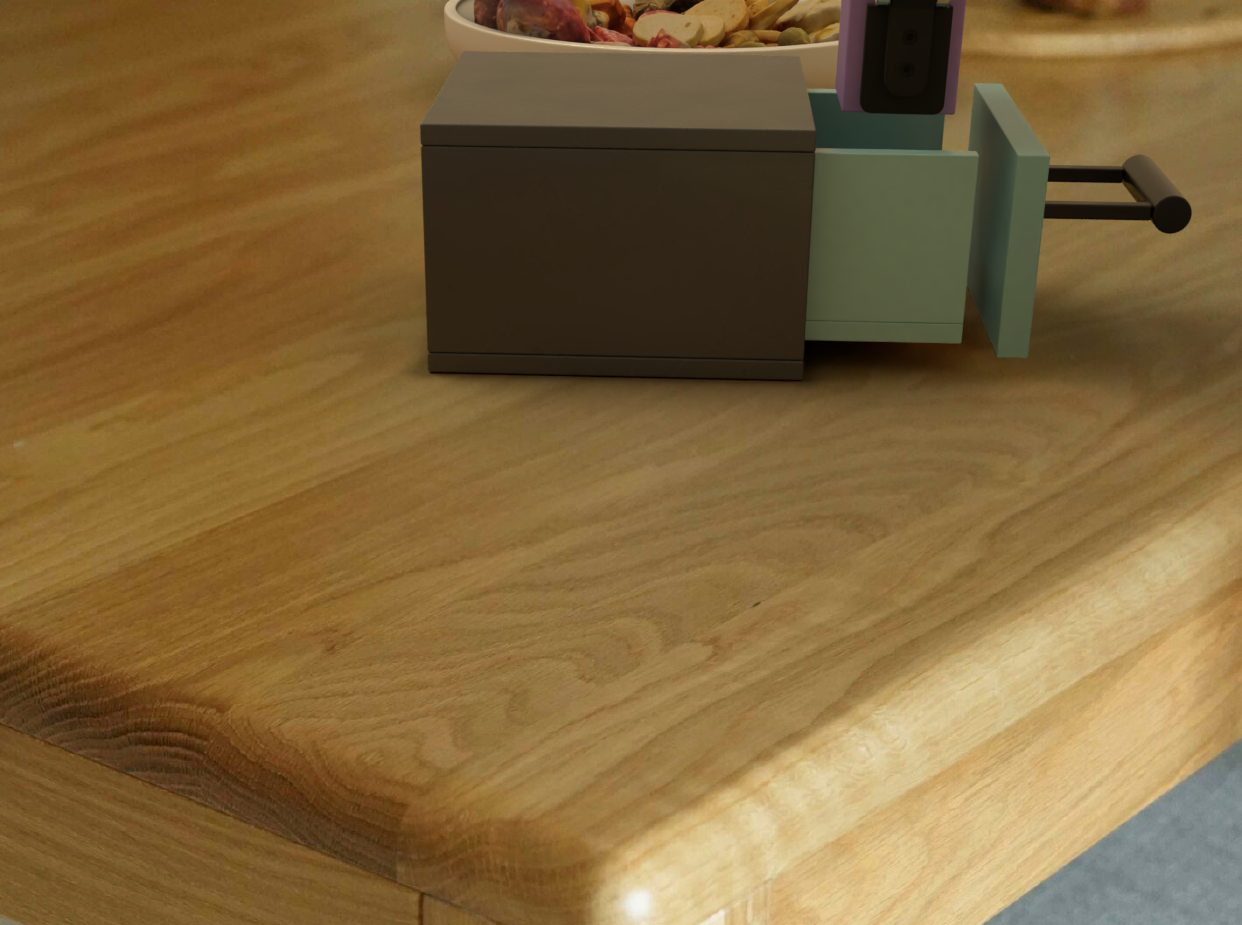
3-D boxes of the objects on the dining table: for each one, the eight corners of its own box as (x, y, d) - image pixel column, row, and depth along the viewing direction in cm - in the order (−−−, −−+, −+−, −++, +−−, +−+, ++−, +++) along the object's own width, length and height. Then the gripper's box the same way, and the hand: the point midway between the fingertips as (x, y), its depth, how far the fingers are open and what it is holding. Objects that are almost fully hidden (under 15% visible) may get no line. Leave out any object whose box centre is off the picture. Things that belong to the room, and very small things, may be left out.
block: (943, 91, 81) (954, -21, 79) (955, 115, 77) (966, -3, 75) (835, 89, 82) (842, -24, 79) (841, 112, 78) (850, -6, 76)
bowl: (688, 28, 146) (691, -85, 143) (1016, 93, 126) (1029, -38, 123) (352, 80, 129) (346, -48, 125) (671, 165, 109) (675, 15, 105)
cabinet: (788, 273, 90) (800, 55, 86) (802, 380, 77) (817, 130, 73) (467, 267, 91) (462, 50, 87) (427, 372, 78) (419, 123, 74)
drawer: (1126, 264, 89) (1150, 85, 85) (1191, 362, 77) (1222, 158, 73) (681, 255, 90) (686, 78, 86) (678, 350, 78) (683, 149, 74)
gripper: (1085, -428, 63) (1019, 150, 72) (1012, -417, 78) (965, 60, 87) (848, -431, 64) (810, 144, 72) (821, -420, 79) (792, 56, 87)
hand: (895, 93), depth 79 cm, fingers closed on block, 4 cm apart
